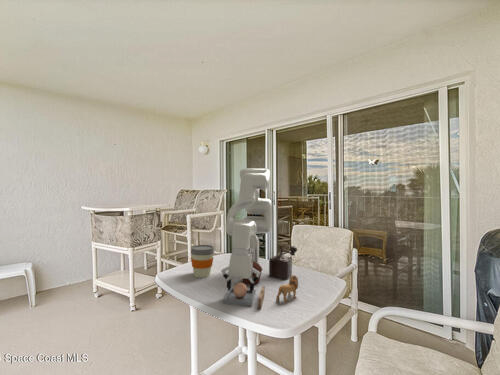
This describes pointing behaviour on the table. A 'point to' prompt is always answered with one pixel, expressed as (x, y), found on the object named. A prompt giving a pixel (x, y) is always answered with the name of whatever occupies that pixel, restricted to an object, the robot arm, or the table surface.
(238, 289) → the ball
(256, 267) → the muffin
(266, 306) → the table surface
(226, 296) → the slate dish
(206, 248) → the reusable coffee cup
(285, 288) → the lion figurine
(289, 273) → the manual coffee grinder
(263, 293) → the walnut wall
